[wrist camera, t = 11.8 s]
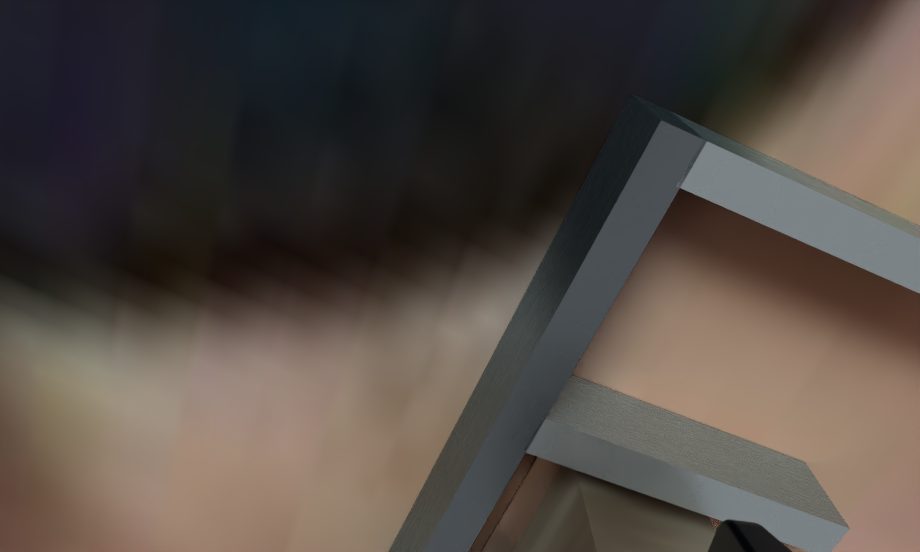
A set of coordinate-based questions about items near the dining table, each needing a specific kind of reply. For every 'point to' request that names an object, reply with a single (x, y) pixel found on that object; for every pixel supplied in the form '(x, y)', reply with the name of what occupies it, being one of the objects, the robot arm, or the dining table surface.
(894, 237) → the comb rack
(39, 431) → the dining table surface
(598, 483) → the grey-brown peg
